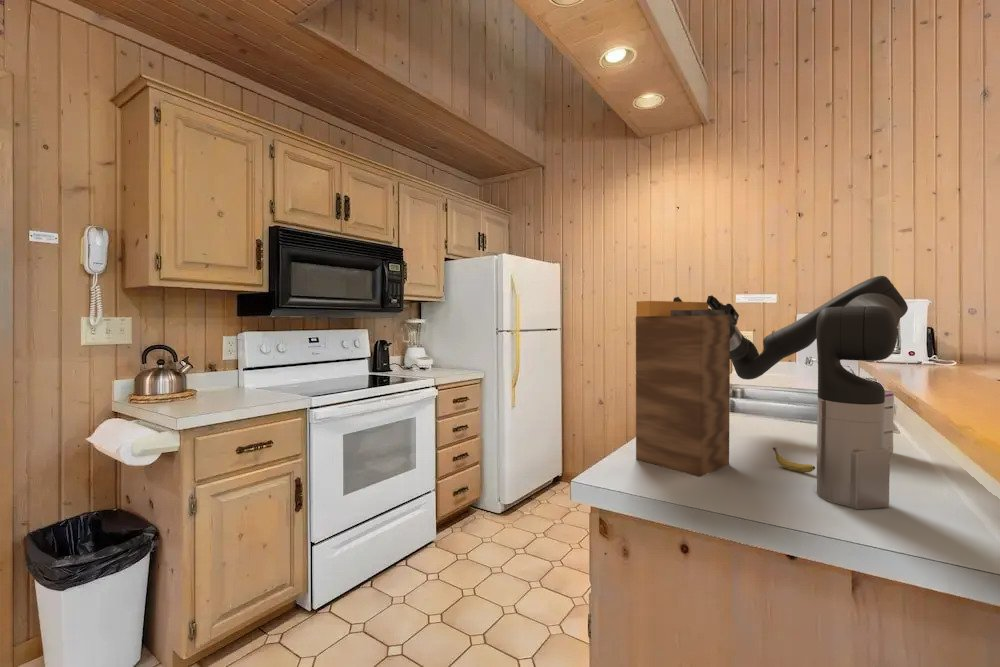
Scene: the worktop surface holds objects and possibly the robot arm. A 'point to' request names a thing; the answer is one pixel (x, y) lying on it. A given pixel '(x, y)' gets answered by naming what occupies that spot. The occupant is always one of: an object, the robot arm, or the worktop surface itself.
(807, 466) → the banana
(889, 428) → the syrup box
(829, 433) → the robot arm
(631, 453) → the worktop surface
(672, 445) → the walnut stand
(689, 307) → the orange-brown bar
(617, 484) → the worktop surface
